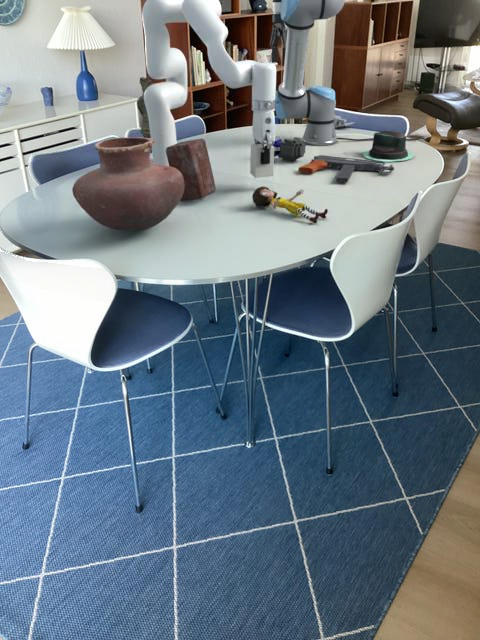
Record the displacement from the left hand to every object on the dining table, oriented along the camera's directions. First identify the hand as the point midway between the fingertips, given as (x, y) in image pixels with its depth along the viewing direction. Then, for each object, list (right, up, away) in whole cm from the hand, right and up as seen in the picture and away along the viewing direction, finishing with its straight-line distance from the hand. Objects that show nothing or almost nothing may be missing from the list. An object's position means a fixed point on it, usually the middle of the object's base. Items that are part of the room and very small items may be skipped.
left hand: (262, 160), depth 188 cm
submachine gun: (+31, 0, +18) cm, 36 cm away
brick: (0, -4, +2) cm, 5 cm away
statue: (-45, +21, +57) cm, 75 cm away
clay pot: (-38, -28, -26) cm, 54 cm away
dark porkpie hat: (+53, +14, +40) cm, 68 cm away
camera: (+41, +43, +90) cm, 108 cm away
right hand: (+12, +68, +75) cm, 102 cm away
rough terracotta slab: (-35, -10, +3) cm, 37 cm away
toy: (+11, +11, +37) cm, 40 cm away
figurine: (+7, -21, -17) cm, 28 cm away
